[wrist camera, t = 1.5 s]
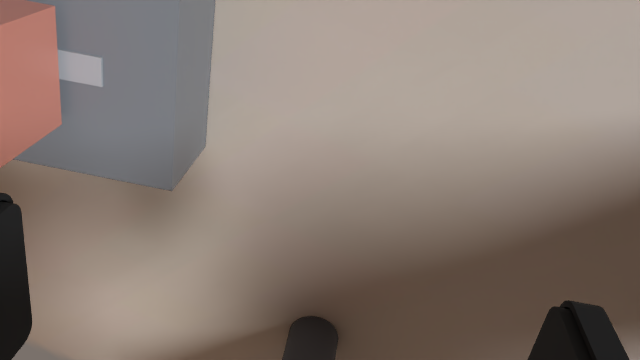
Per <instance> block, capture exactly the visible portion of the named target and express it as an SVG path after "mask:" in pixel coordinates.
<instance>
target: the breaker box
mask: <svg viewBox="0 0 640 360" xmlns="http://www.w3.org/2000/svg"><path fill="white" fill-rule="evenodd" d="M27 1H32V2H37V3H43V4H48V5H53V6H55V14H56V32H57V49H58V67H59V84H60V101H61V119H62V125H60V126H59V127H57V128H56V129H55V130H53V131H52V132H50V133H49V134H47V135H46V136H45V137H43V138H42V139H40V140H39V141H38V142H36V143H35V144H33V145H32V146H31V147H29V148H28V149H26V150H25V151H23V152H22V153H21V154H19V155H18V156H16V157H15V158H14V160H19V161H24V162H29V163H34V164H39V165H44V166H49V167H54V168H59V169H64V170H69V171H74V172H79V173H84V174H89V175H94V176H99V177H104V178H109V179H114V180H119V181H124V182H129V183H134V184H139V185H144V186H149V187H154V188H159V189H164V190H169V191H172V190H173V189H174V188H175V186H176V185H177V184H178V182H179V181H180V180H181V178H182V177H183V176H184V174H185V173H186V172H187V170H188V169H189V168H190V166H191V165H192V164H193V162H194V161H195V160H196V158H197V157H198V156H199V154H200V153H201V152H202V150H203V149H204V148H205V143H206V128H207V114H208V99H209V84H210V70H211V55H212V40H213V26H214V11H215V0H27Z"/></svg>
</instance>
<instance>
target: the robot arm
mask: <svg viewBox="0 0 640 360" xmlns="http://www.w3.org/2000/svg"><path fill="white" fill-rule="evenodd" d="M31 327H32V314H31V304H30V294H29V284H28V274H27V264H26V254H25V244H24V234H23V224H22V214H21V209H20V207H19V206H18V205H17V204H13V200H12V198H11V197H10V196H9V195H8V194H5V193H0V360H11V359H12V358H13V357H14V356H15V354H16V353H17V352H18V350H19V349H20V348H21V347H22V345H23V344H24V343H25V341H26V340H27V338H28V336H29V334H30V331H31ZM528 360H629V358H628V356H627V354H626V352H625V350H624V348H623V346H622V344H621V342H620V340H619V338H618V336H617V334H616V332H615V330H614V328H613V326H612V324H611V322H610V320H609V318H608V316H607V314H606V312H605V311H604V309H603V308H602V307H599V306H595V305H590V304H584V303H579V302H574V301H569V300H568V301H564V302H563V303H562V304H561V306H560V307H552V308H551V309H550V310H549V312H548V314H547V316H546V319H545V321H544V323H543V325H542V328H541V330H540V332H539V335H538V337H537V339H536V342H535V344H534V346H533V348H532V351H531V353H530V355H529V358H528Z"/></svg>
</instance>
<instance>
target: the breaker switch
mask: <svg viewBox="0 0 640 360" xmlns="http://www.w3.org/2000/svg"><path fill="white" fill-rule="evenodd" d="M60 125H62V119H61V101H60V84H59V67H58V49H57V32H56V14H55V6H53V5H48V4H43V3H37V2H32V1H27V0H0V168H1V167H2V166H4V165H5V164H7V163H8V162H9V161H11V160H12V159H14V158H15V157H16V156H18V155H19V154H21V153H22V152H23V151H25V150H26V149H28V148H29V147H31V146H32V145H33V144H35V143H36V142H38V141H39V140H40V139H42V138H43V137H45V136H46V135H47V134H49V133H50V132H52V131H53V130H55V129H56V128H57V127H59V126H60Z"/></svg>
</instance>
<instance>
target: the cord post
mask: <svg viewBox="0 0 640 360" xmlns="http://www.w3.org/2000/svg"><path fill="white" fill-rule="evenodd" d="M337 343H338V334H337V331H336V329H335V328H334V326H333V325H332V324H331V323H329V322H328V321H326V320H324V319H322V318H319V317H303V318H300V319H298V320H297V321H295V322H294V323H293V324H292V326H291V328H290V331H289V335H288V339H287V343H286V347H285V351H284V355H283V359H282V360H335V356H336V350H337Z"/></svg>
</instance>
